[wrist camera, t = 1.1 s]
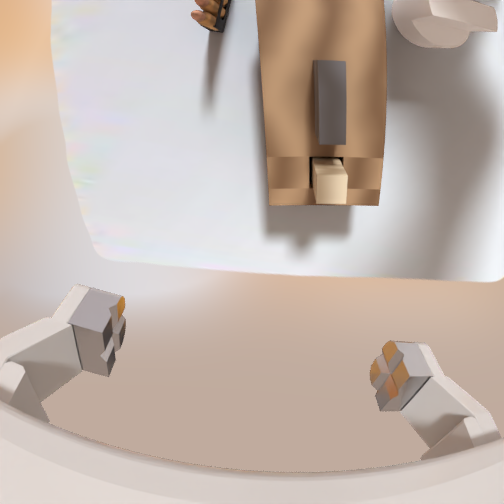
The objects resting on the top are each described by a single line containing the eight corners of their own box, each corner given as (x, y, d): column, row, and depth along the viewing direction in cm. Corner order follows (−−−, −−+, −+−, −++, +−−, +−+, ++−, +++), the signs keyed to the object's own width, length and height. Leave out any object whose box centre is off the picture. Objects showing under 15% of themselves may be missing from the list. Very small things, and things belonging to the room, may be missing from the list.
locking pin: (333, 147, 37) (347, 175, 28) (332, 169, 38) (345, 203, 30) (309, 147, 37) (316, 175, 29) (309, 169, 39) (316, 203, 31)
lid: (379, -6, 22) (396, -16, 17) (376, 201, 36) (388, 224, 31) (255, -11, 23) (249, -24, 19) (269, 201, 37) (267, 224, 33)
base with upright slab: (445, -5, 24) (491, -15, 15) (451, 52, 29) (500, 57, 20) (387, -15, 26) (422, -36, 16) (395, 44, 31) (433, 42, 21)
